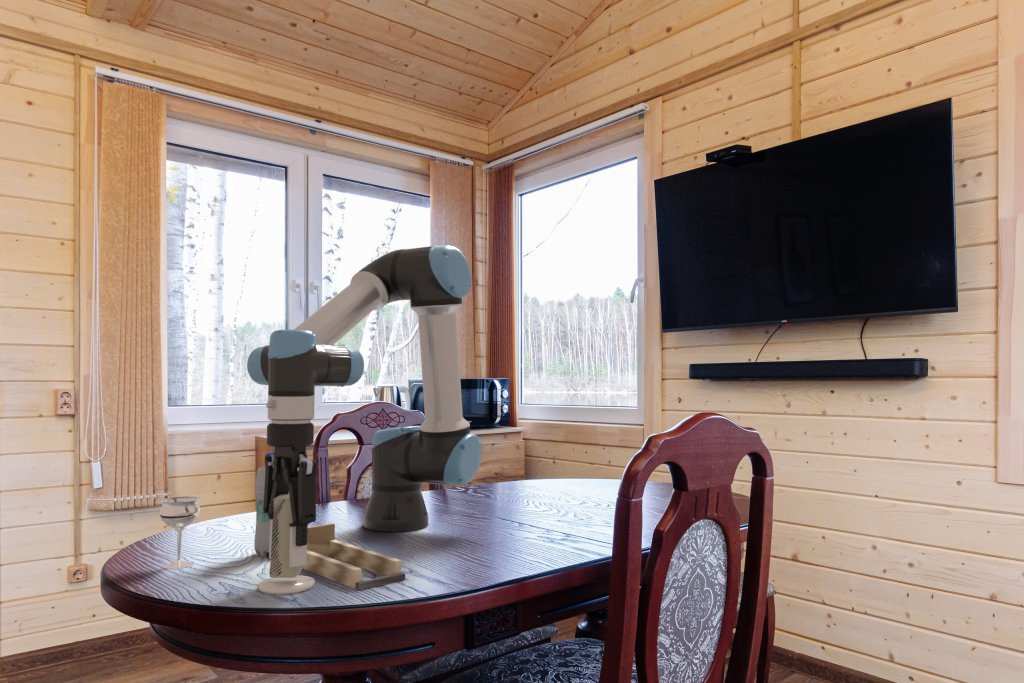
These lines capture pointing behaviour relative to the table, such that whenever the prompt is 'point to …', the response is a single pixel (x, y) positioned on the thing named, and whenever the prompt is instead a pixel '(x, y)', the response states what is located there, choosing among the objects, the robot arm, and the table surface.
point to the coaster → (286, 585)
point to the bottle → (261, 515)
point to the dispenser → (347, 560)
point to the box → (282, 540)
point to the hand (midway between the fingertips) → (287, 561)
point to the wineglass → (179, 521)
